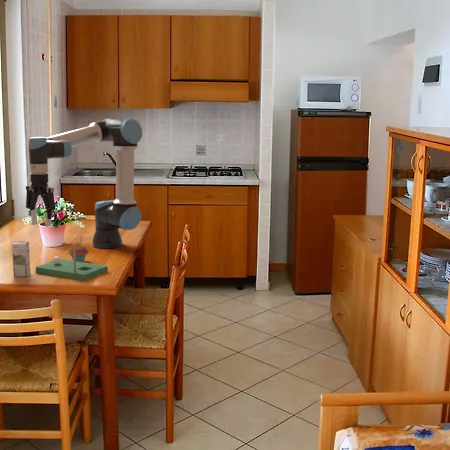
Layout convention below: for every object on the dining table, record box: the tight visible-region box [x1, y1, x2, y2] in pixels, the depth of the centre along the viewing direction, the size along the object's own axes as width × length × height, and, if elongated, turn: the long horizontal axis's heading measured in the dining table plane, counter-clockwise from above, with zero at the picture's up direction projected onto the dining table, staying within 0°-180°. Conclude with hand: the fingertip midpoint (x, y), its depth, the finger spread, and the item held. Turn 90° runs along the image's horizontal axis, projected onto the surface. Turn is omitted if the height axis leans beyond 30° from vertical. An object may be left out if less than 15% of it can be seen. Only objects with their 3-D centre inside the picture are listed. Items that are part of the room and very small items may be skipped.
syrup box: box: [11, 240, 31, 278], centre depth 266 cm, size 6×6×14 cm
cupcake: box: [68, 235, 89, 263], centre depth 290 cm, size 9×8×12 cm
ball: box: [52, 256, 62, 264], centre depth 276 cm, size 4×4×4 cm
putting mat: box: [35, 242, 109, 282], centre depth 272 cm, size 16×26×14 cm, turn 64°
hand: (41, 225), depth 276 cm, fingers open, 7 cm apart
